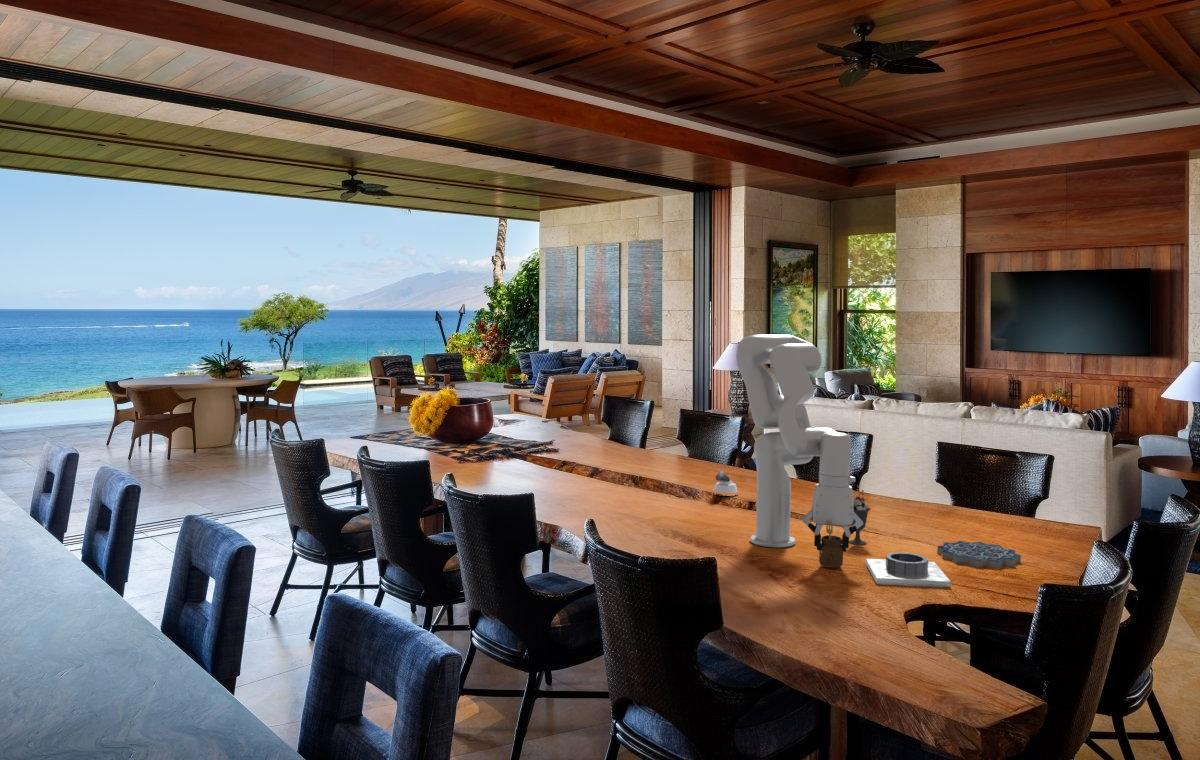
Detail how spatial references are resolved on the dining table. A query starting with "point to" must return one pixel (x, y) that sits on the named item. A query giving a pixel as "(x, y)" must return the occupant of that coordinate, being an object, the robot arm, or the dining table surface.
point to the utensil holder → (831, 549)
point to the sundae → (861, 512)
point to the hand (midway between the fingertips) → (831, 549)
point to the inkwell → (724, 484)
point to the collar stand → (907, 571)
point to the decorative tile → (979, 554)
